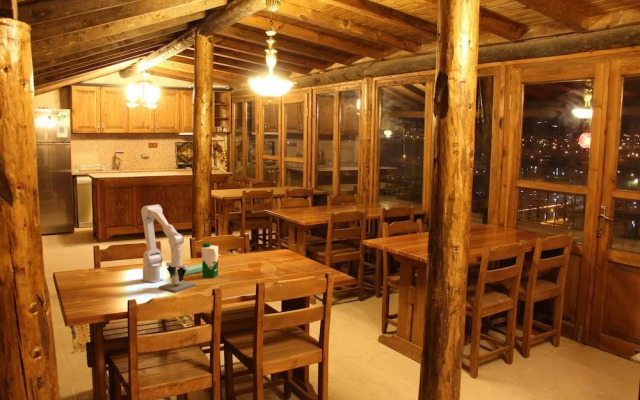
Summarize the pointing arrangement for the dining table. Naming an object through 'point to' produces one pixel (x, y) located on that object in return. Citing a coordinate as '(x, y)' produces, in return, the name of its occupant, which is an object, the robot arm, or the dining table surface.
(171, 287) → the shaft stand
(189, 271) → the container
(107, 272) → the dining table surface
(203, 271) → the milk carton
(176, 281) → the hub ring
